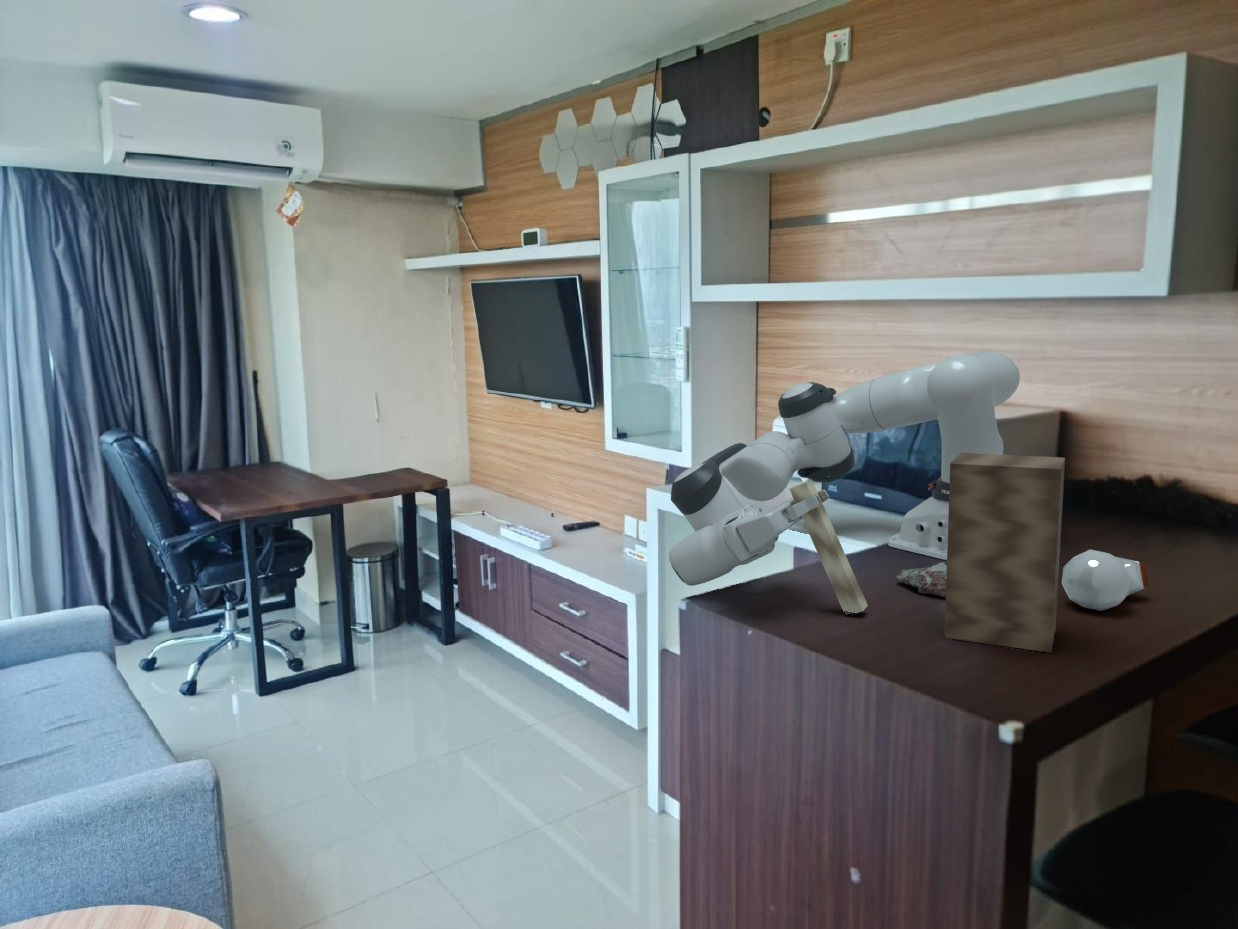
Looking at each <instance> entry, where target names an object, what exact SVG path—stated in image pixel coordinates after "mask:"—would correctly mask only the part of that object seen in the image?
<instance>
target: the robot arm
mask: <svg viewBox="0 0 1238 929" xmlns="http://www.w3.org/2000/svg"><path fill="white" fill-rule="evenodd" d="M1020 377H1021V376H1020V371H1019V368H1018V366H1017V364H1016V363H1015V362H1014V360H1012V359H1011V358H1009V357H1008V356H1006V355H1003V354H1001V353H999V352H995V351H981V352H972V353H964V354H957V355H953V356H950V357H947V358H946V359H944V360H943V361H941V362H940V361H939V362H936V363H932V364H928V365H923V366H919V367H914V368H911V369H907V370H903V371H900V372H896V373H892V374H888V375H884V376H881V377H877V378H872V379H870V380H867V381H866V380H865V381H863V382H861V383H859V384H856V385H853V386H851V387H849V388H848V389H845V390H842V391H841V392H840V393H838V394H837V390H836V389H835V388H834V387H828V386H825V385H824V384H821V383H818V382H814V381H813V382H812V381H810V382H802V383H799V384H796V385H794V386H792V387H790V388H789V389H787V390H786V391H785V392H784V393H783V394H781V395H780V397H779V399H778V402H777V405H778V411H779V416H780V418H782V420H783V424H784V427H785V430H786V432H787V433H785V432H782V431H768V432H766V433H764V434H762V435H760V436H759V437H757V438H756V439H755V440H754V441H752V443H751V444H749V446H748V445H747V444H745V443H743V442H738V443H734V444H732V445H730V446H728V447H727V448H725V449H723V450H721V451H719V452H717V453H715V454H714V455H712V456H711V457H709V458H708V459H706V460H704V461H703V462H701V463H699V464H696V465H694V466H693V465H692V466H691V467H689V468H687V469H686V470H684V471H683V472H681V473H680V474H678V476H677V477H676V478H675V479H674V481H672V484H671V489H670V490H671V491H670V501H671V502H672V504H673V505H674V506H675V507H676V509H677V510H678V511H679V512H680V513H681V514H682V515H683V516H684V517H685V519H686V520H687V522H688V523H689V524H690V526H691V527H692V529H693V530H694V532H693V533H691V534H690V535H687V537H685V538H684V539H682V540H681V541H679V542H678V543H676V544H675V545H674V546H673V547H671V548H670V550H669V551H668V557H669V559H668V560H669V563H670V565H671V568H672V570H673V572H675V574H676V575H677V577H678V578H679V579H680V581H681V582H682V583H684V584H686V585H688V586H689V587H690V586H691V587H693V586H697V585H701V584H704V583H708V582H710V581H714V580H715V579H718V578H720V577H723V576H726V575H728V574H729V573H730V572H731V571H733V570H734V569H735V568H736V567H739V566H743V565H748V564H749V563H752V562H754V561H756V560H759V559H761V558H762V557H765V556H767V555H769V554H771V553H773V551H774V550H775V547H776V544H775V543H776V542H778V541H779V538H780V535H782V534H783V533H784V532H786V531H787V530H789V529H790V528H791V527H793V526H794V525H796V524H797V523H799V522H800V521H801V520H802V521H803V519H802V517H801V516H802V515H803V514H805V513H807V512H808V511H810V510H812V509H814V508H816V507H818V506H819V505H820V504H821V501H822V503H824V502H827V501H828V500H829V499H830V495H829V494H828V492H827V490H825V489H821V490H820V491H819V490H818V491H817V492H818V494H819V497H820V499H821V501H820V500H819V498H818V496H817V495H814V496H812V497H810V498H808V499H806V500H803V501H801V502H799V503H795V501H794V499H793V497H791V498H789V499H787V500H785V501H784V502H783V501H782V503H779V504H777V505H776V506H774V507H772V508H770V509H769V510H767V509H766V508H764V507H762V506H758V507H756V506H755V505H752V504H746V505H744V506H743V504H742V503H741V502H740V501H739V498H738V497H737V496H736V494H735V493H734V491H733V490H732V489H731V487H730V486H729V484H728V483H730V484H731V486H732V487H733V488H734V489H735V490H736V491H737V492H738V493H739V494H740V495H741V496H743V497H744V498H746V499H748V500H751V501H756V502H766V501H770V500H772V499H775V498H776V497H778V496H779V495H781V494H782V493H783V491H784V490H785V489H787V487H788V485H789V483H790V482H791V480H792V478H793V476H794V475H795V473H796V472H797V475H798V476H799V478H803V479H808V480H811V479H812V481H813V482H816V483H822V484H824V483H826V484H827V483H832V482H835V481H839V480H840V479H843V478H844V477H845V476H847V475H849V473H851V471H852V470H853V468H854V467H855V464H856V460H855V455H854V450H853V448H852V447H851V445H850V442H849V438H848V435H847V433H849V434H869V433H878V432H879V433H880V432H883V431H889V430H893V429H899V428H903V427H907V426H913V425H917V424H921V423H926V422H931V421H935V420H937V421H938V426H939V431H940V438H941V462H940V463H941V468H940V470H941V471H940V472H941V473H940V475H941V476H940V477H939V478H938V479H937V480H933V481H932V482H931V483H929V484H928V488H927V489H928V491H931V496H929V497H928V498H927V499H925V500H924V501H922V502H920V503H919V504H918V505H917V506H915V507H913V508H912V509H911V510H909V511H907V512H906V513H905V515H903V518H902V521H901V524H900V528H899V532H897V533H895V534H894V535H891V537H889V538H888V541H887V545H888V547H891V548H896V549H899V550H903V551H908V552H911V553H916V554H920V555H925V556H928V557H932V558H936V559H940V560H944V561H947V546H948V515H949V485H950V463H951V462H952V461H953V460H954V459H955V458H956V457H957V456H958V455H959V454H960V453H976V454H997V455H1004V442H1003V438H1002V436H1001V435H1000V432H999V428H998V423H997V419H996V411H995V408H996V407H998V406H999V405H1000V406H1001V405H1002V404H1003V403H1005V402H1006V401H1007V400H1008V399H1010V398H1011V397H1012V395H1013V394H1015V392H1016V391H1017V390H1018V387H1019V384H1020V380H1021V378H1020ZM836 394H837V395H836ZM725 479H726V480H727V481H728V483H727V481H726V480H725Z"/></svg>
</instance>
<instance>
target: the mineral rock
mask: <svg viewBox="0 0 1238 929" xmlns="http://www.w3.org/2000/svg"><path fill="white" fill-rule="evenodd" d="M946 576H947V564H946V563H944V562H943V561H942V562H939V563H937V564H934V565H932V566H931V567H922V568H918V567H917V568H910V569H901V570H899V573H898V574H897V575H896V579H898V580H899V582H903V583H904V584H905V585H910V586H912V587H914V588H917V590H918V593H919V594H921V593H922V594H921V595H925V594H928V595H934V596H939V597H942V598H945V599H946Z"/></svg>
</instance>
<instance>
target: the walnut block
mask: <svg viewBox="0 0 1238 929" xmlns="http://www.w3.org/2000/svg"><path fill="white" fill-rule="evenodd" d="M1065 463H1066V457H1059V456H1040V455H1039V456H1038V455H1017V454H1013V455H1011V454H1003V455H997V454H976V453H960V454H959V455H958V456H957V457H956V458H955V459H954V460H953V461H952V462H951V463H950V485H949V515H948V546H947V560H946V566H947V576H946V598H945V612H944V616H945V617H944V637H945V636H948V637H952V638H962V639H968V640H974V641H979V642H984V643H990V644H999V645H1005V646H1011V647H1015V648H1017V647H1018V648H1023V649H1028V650H1029V649H1030V650H1038V651H1039V650H1040V651H1045V652H1050V653H1051V654H1052V652H1051V651H1053V647H1052V646H1054V640H1055V636H1054V635H1056V630H1057V629H1056V627H1057V608H1058V595H1059V594H1058V593H1059V592H1058V591H1059V576H1060V575H1059V574H1060V559H1061V558H1060V554H1061V541H1062V540H1061V539H1062V538H1061V537H1062V536H1061V535H1062V520H1063V519H1062V518H1063V503H1064V502H1063V501H1064V483H1065V466H1066V464H1065Z"/></svg>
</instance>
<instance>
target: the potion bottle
mask: <svg viewBox="0 0 1238 929" xmlns="http://www.w3.org/2000/svg"><path fill="white" fill-rule="evenodd" d="M1061 577H1062V578H1061V585H1062V587H1063V589H1064V591H1065V593H1066V595H1067V596H1068V599H1069V600H1071V601H1072V602H1074V603H1075V604H1077V605H1079V606H1081V607H1083V608H1085V609H1090V610H1095V611H1098V612H1103V611H1106V610H1108V609H1110V608H1111V609H1112V608H1113V607H1117V606H1119V605H1120V604H1121V603H1122V602H1123V601H1124V600H1125V599H1126V598H1127V597H1128V596H1130V595H1133V594H1135V593H1138V592H1141V591H1143V590H1146V589H1148V588H1149V587H1150V586H1149V582H1148V577H1147V572H1146V566H1145V563H1144V562H1140V561H1137V560H1132V559H1128V558H1123V557H1118V556H1114V555H1112V554H1111V553H1108V552H1104V551H1100V550H1094V549H1091V548H1090V549H1087V550H1086V551H1084V552H1081V553H1079V554H1077V555H1075V556H1073V557H1072V558H1071V559H1070V560H1069V561H1067V563H1066V564H1065V565H1064V566H1063V568H1062V576H1061Z"/></svg>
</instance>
